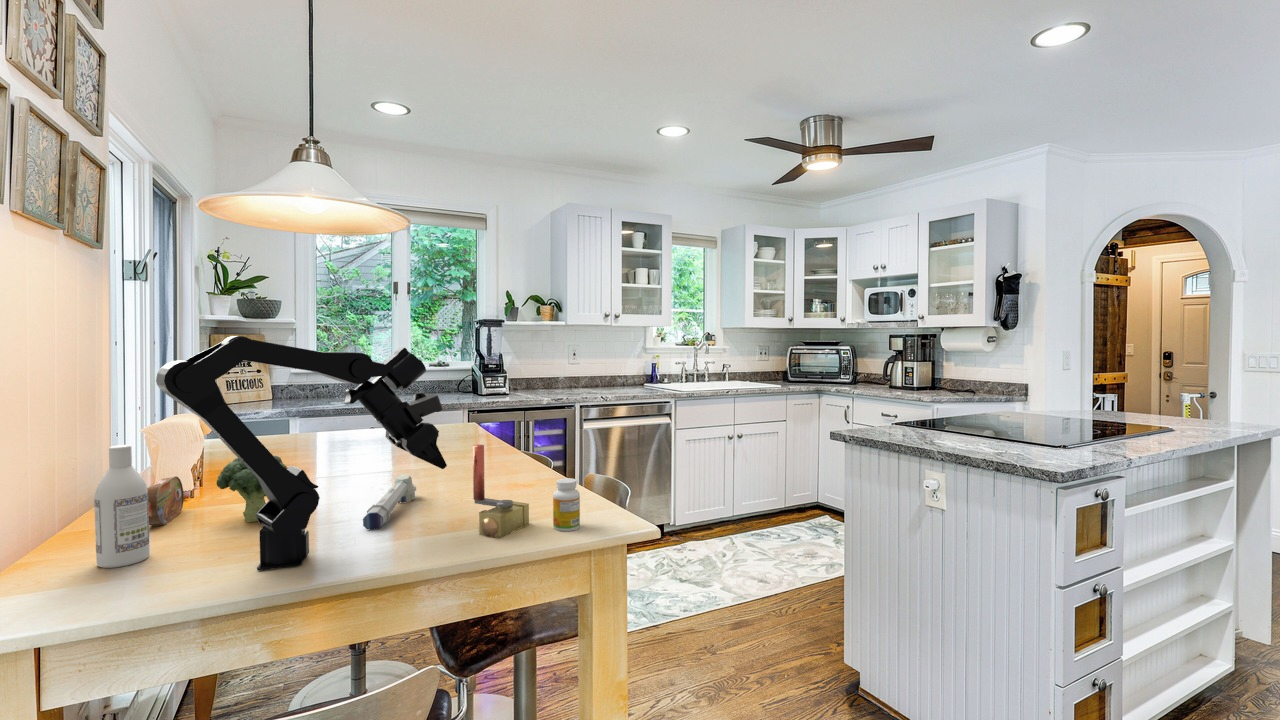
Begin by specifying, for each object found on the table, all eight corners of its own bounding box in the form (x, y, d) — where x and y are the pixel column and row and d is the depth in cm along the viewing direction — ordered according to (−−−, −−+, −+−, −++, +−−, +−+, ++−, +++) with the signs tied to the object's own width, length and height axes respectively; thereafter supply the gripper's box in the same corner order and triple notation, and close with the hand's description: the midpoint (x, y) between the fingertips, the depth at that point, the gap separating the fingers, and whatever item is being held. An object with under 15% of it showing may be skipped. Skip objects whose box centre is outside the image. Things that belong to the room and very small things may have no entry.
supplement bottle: (554, 523, 123) (554, 477, 123) (580, 523, 124) (580, 477, 123) (552, 532, 118) (552, 483, 118) (579, 531, 118) (579, 483, 118)
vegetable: (286, 524, 123) (284, 452, 122) (211, 533, 117) (209, 457, 116) (292, 509, 134) (290, 442, 133) (223, 516, 128) (222, 447, 127)
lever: (516, 505, 120) (515, 447, 120) (506, 509, 117) (505, 450, 117) (480, 500, 124) (479, 443, 124) (469, 504, 121) (469, 446, 121)
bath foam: (159, 553, 106) (156, 442, 105) (130, 568, 99) (126, 449, 98) (117, 554, 105) (114, 442, 105) (85, 569, 99) (81, 450, 98)
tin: (160, 529, 119) (158, 488, 119) (140, 531, 118) (139, 489, 118) (185, 509, 133) (184, 472, 133) (168, 511, 132) (167, 473, 132)
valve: (499, 538, 114) (499, 516, 114) (477, 535, 116) (477, 512, 116) (530, 524, 123) (530, 503, 123) (509, 520, 125) (509, 500, 125)
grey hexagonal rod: (358, 512, 119) (395, 468, 143) (360, 543, 120) (396, 494, 144) (385, 511, 119) (417, 467, 144) (387, 542, 120) (419, 493, 145)
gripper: (432, 380, 110) (484, 441, 115) (407, 377, 125) (454, 431, 131) (382, 421, 105) (439, 483, 111) (363, 413, 120) (414, 467, 126)
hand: (438, 463), depth 120 cm, fingers open, 9 cm apart
